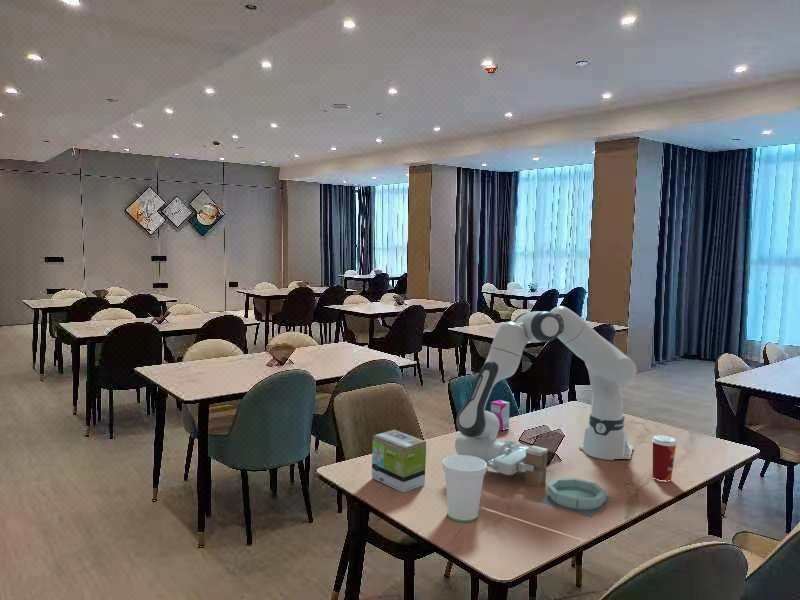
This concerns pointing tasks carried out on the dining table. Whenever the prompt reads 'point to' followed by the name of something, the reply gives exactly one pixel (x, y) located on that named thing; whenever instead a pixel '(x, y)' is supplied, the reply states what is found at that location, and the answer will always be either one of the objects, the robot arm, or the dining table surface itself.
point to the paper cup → (663, 456)
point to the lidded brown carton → (536, 465)
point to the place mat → (583, 512)
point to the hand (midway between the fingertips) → (538, 465)
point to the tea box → (399, 460)
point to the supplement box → (501, 412)
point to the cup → (463, 486)
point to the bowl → (576, 493)
